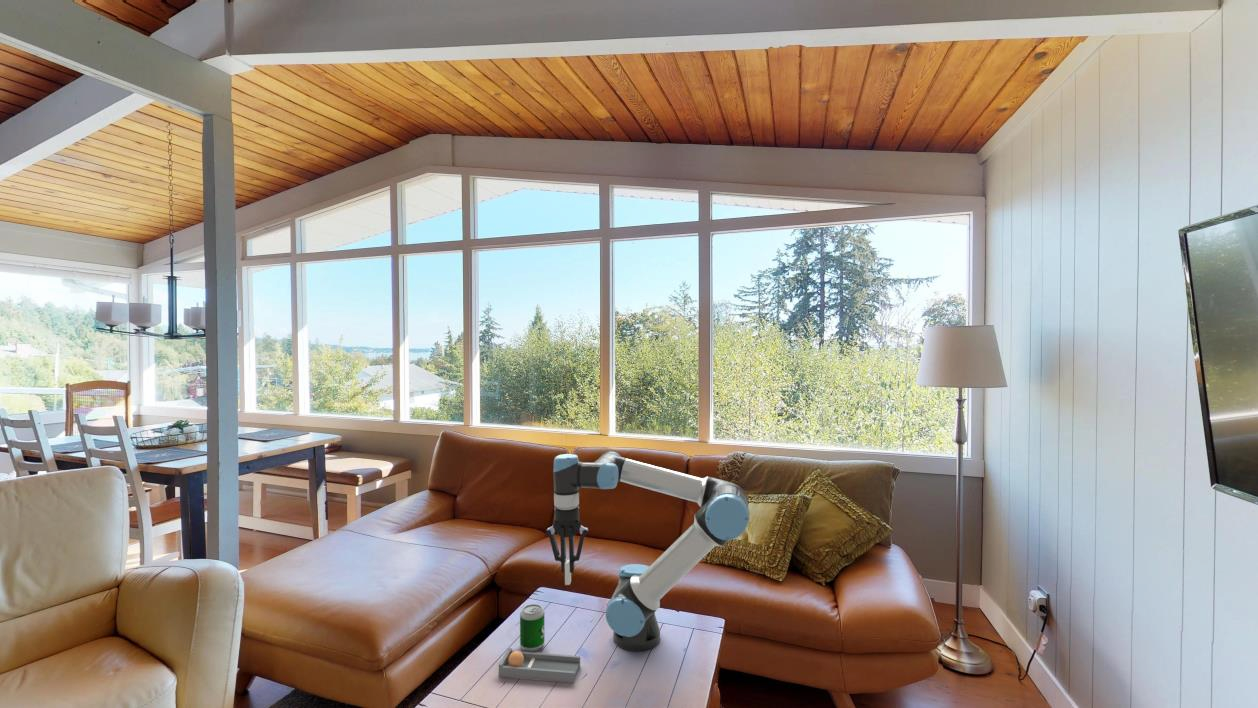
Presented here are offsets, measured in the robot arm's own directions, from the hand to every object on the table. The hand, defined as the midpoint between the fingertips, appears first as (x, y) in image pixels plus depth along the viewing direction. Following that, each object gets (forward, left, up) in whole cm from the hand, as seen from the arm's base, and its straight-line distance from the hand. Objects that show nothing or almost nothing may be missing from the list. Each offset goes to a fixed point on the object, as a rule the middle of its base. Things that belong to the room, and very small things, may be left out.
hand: (568, 582), depth 165 cm
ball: (+13, +10, -19) cm, 25 cm away
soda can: (+12, -3, -23) cm, 26 cm away
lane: (+6, +9, -22) cm, 25 cm away
